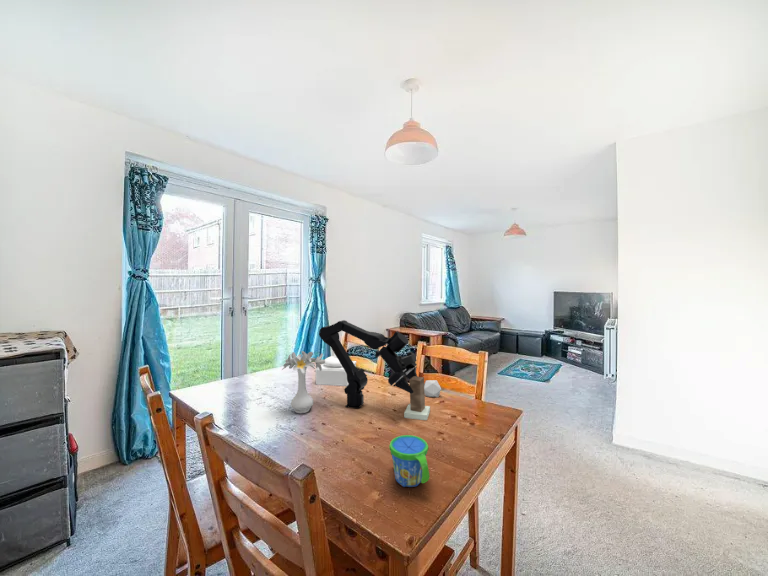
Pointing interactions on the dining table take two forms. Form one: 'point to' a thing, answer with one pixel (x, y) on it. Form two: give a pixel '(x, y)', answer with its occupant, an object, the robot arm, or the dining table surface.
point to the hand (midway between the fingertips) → (416, 389)
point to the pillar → (417, 394)
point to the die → (432, 388)
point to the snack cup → (409, 460)
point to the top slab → (417, 413)
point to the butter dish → (332, 373)
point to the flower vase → (302, 379)
